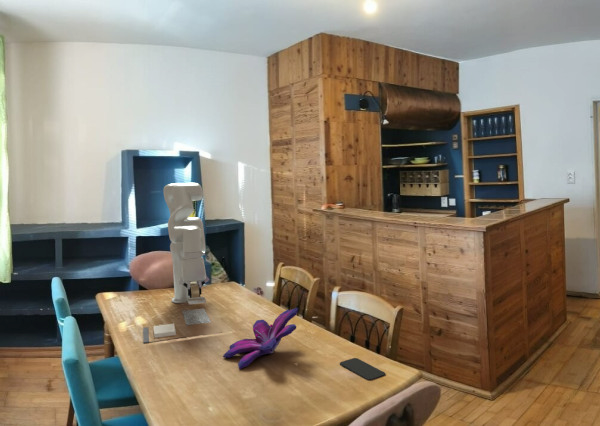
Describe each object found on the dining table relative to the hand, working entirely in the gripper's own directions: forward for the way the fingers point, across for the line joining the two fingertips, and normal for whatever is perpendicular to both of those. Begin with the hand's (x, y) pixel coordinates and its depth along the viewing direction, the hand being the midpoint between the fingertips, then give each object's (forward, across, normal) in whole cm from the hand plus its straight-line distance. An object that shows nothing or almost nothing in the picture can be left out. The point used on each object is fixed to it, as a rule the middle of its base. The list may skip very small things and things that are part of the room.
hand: (194, 296), depth 198 cm
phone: (+12, -43, +76) cm, 88 cm away
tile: (+9, +14, +16) cm, 23 cm away
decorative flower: (+11, -17, +51) cm, 55 cm away
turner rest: (+10, 0, 0) cm, 10 cm away
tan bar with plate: (+1, 0, 0) cm, 1 cm away
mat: (+10, +14, +14) cm, 22 cm away
